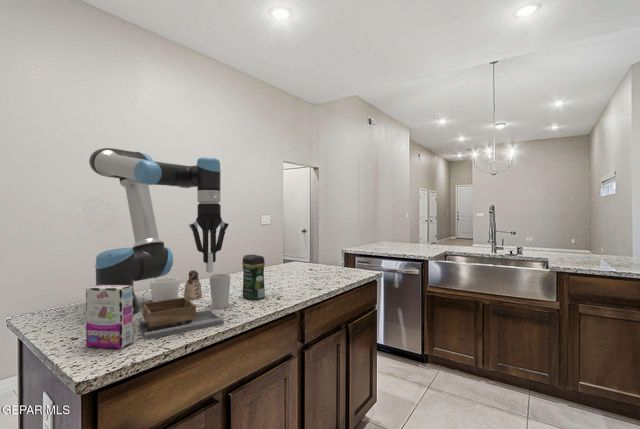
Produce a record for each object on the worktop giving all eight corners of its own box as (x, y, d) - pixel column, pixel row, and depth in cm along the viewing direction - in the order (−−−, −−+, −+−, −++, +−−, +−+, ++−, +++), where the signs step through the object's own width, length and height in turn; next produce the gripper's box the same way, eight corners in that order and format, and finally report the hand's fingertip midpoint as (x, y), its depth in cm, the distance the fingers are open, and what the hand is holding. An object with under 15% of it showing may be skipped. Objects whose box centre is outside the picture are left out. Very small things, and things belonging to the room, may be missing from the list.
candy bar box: (134, 342, 93) (134, 284, 93) (121, 349, 88) (121, 288, 88) (100, 340, 95) (99, 283, 94) (85, 347, 90) (84, 287, 90)
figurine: (204, 295, 145) (204, 268, 145) (197, 300, 138) (196, 271, 138) (189, 295, 146) (189, 268, 146) (181, 299, 139) (180, 271, 139)
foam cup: (160, 323, 109) (160, 284, 109) (145, 318, 114) (144, 281, 114) (185, 315, 117) (185, 279, 117) (170, 311, 122) (169, 276, 122)
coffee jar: (239, 297, 142) (239, 254, 141) (254, 294, 147) (254, 253, 147) (252, 301, 135) (252, 256, 135) (267, 297, 141) (267, 254, 141)
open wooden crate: (142, 319, 106) (142, 303, 106) (185, 312, 114) (185, 297, 114) (149, 331, 95) (149, 313, 95) (196, 322, 103) (195, 305, 103)
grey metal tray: (138, 326, 106) (138, 321, 106) (210, 313, 119) (210, 308, 119) (145, 340, 94) (145, 333, 94) (223, 323, 108) (223, 318, 108)
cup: (224, 309, 124) (224, 278, 124) (205, 308, 125) (205, 277, 125) (234, 303, 132) (234, 274, 132) (216, 303, 133) (215, 273, 133)
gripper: (192, 202, 105) (192, 275, 105) (231, 203, 113) (231, 271, 113) (186, 203, 111) (186, 272, 112) (224, 203, 119) (224, 268, 119)
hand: (209, 272), depth 112 cm, fingers closed
